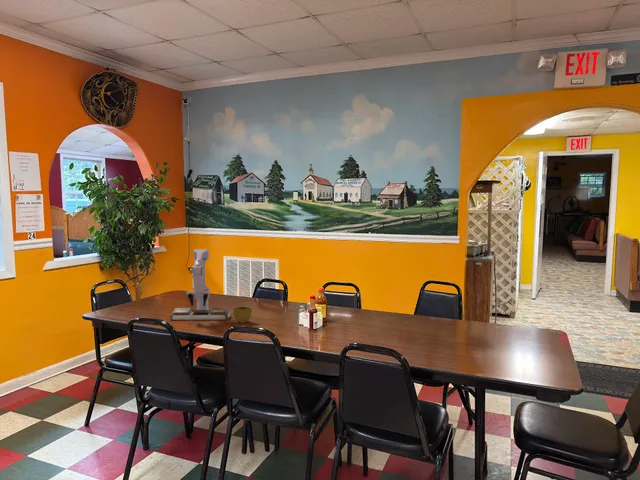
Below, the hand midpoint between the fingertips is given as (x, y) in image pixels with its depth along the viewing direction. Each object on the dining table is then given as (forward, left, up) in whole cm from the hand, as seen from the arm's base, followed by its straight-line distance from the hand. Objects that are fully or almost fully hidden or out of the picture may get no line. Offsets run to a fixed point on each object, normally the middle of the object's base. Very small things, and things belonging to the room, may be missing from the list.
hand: (198, 305), depth 288 cm
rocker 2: (-7, +12, -5) cm, 15 cm away
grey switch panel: (-7, 0, -10) cm, 12 cm away
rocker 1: (-7, 0, -5) cm, 8 cm away
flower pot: (+5, +29, -10) cm, 31 cm away
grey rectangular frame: (-7, -12, -5) cm, 15 cm away
